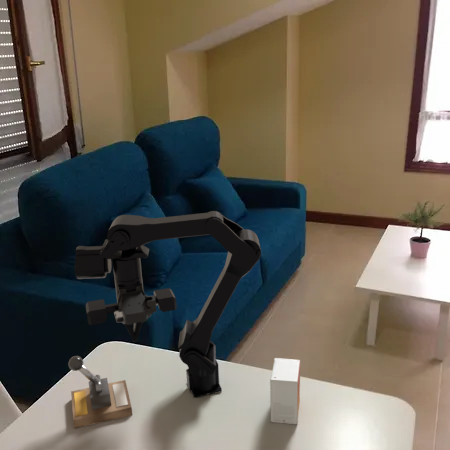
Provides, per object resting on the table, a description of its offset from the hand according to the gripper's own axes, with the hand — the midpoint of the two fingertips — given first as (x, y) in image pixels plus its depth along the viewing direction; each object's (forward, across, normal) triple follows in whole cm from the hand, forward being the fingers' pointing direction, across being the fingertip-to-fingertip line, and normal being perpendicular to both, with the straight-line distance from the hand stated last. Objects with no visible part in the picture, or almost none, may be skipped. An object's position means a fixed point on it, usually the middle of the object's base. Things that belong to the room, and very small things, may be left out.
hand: (135, 340), depth 118 cm
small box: (+13, +28, -18) cm, 36 cm away
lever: (+7, -9, -3) cm, 12 cm away
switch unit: (+13, -9, -3) cm, 16 cm away
